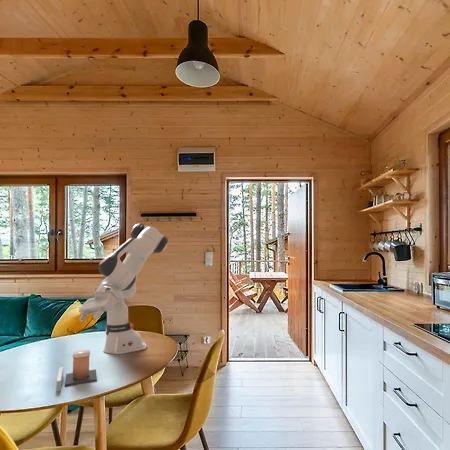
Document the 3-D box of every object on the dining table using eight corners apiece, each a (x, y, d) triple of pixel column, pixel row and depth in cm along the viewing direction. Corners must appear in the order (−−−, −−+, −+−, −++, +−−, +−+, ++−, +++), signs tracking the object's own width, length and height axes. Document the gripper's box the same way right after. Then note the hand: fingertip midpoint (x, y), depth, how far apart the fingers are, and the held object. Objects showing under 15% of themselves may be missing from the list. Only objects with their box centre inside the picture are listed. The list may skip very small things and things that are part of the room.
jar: (89, 372, 144) (89, 349, 145) (89, 377, 138) (90, 353, 138) (72, 375, 141) (72, 351, 142) (72, 380, 135) (72, 355, 136)
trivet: (95, 371, 147) (95, 369, 147) (96, 381, 136) (96, 379, 136) (66, 375, 142) (66, 373, 142) (64, 386, 131) (64, 384, 132)
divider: (63, 376, 142) (63, 366, 142) (60, 391, 127) (60, 380, 128) (59, 376, 141) (59, 367, 142) (56, 391, 127) (56, 381, 127)
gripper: (86, 294, 158) (68, 317, 147) (114, 287, 148) (97, 312, 137) (94, 302, 160) (78, 326, 150) (123, 296, 151) (107, 321, 140)
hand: (87, 319), depth 144 cm, fingers open, 8 cm apart
